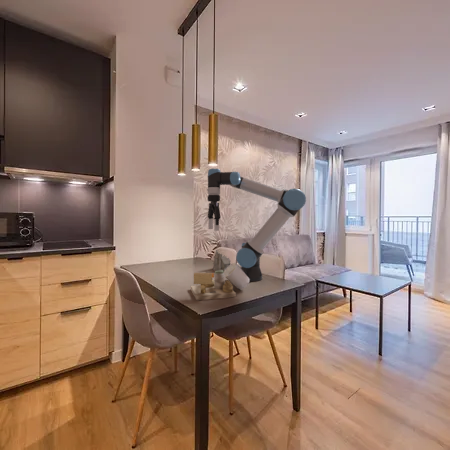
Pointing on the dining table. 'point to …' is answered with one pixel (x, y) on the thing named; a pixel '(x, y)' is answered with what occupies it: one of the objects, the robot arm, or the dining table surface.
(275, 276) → the dining table surface
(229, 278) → the candle holder
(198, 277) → the wing knob
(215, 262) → the ceramic cottage
